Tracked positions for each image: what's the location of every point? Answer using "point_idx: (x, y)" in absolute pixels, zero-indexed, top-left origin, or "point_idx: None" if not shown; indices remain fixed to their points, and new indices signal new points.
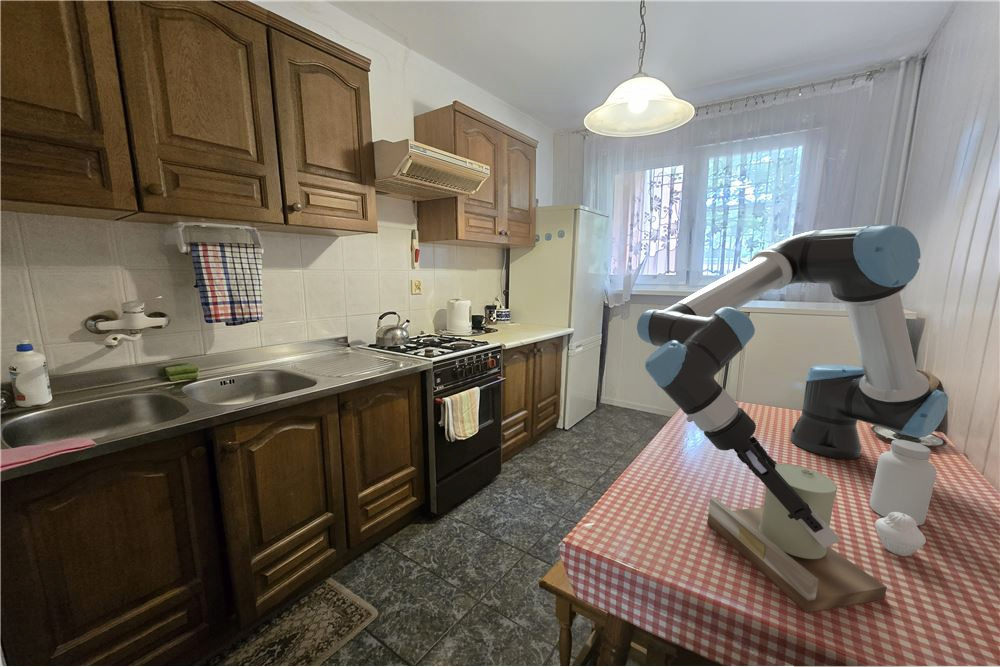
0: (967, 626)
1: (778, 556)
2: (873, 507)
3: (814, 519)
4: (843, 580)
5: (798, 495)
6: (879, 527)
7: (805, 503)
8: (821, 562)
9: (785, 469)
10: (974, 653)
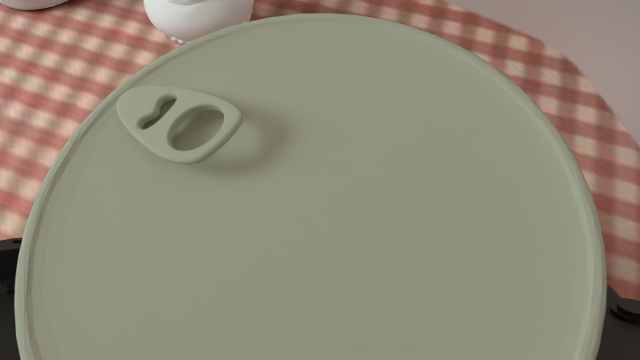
0: (476, 40)
1: None
2: (28, 3)
3: (612, 292)
4: None
5: (602, 353)
6: (193, 28)
7: (637, 322)
8: None
9: (147, 300)
10: (568, 70)
